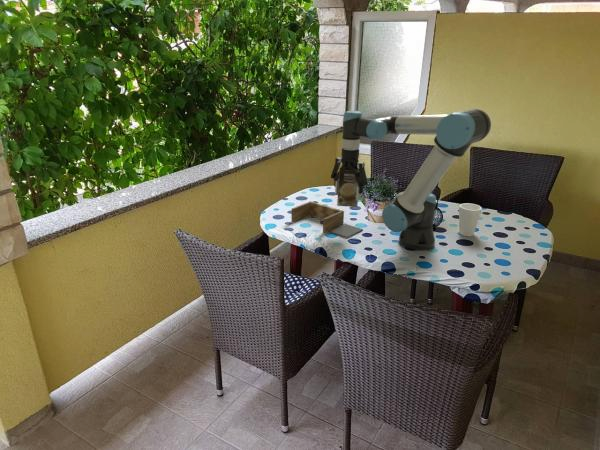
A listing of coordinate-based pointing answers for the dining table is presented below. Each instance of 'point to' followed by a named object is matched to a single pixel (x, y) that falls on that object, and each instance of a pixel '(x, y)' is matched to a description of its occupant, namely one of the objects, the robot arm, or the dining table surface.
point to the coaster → (346, 231)
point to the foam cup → (468, 218)
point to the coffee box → (347, 188)
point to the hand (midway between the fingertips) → (347, 197)
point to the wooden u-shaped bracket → (319, 215)
